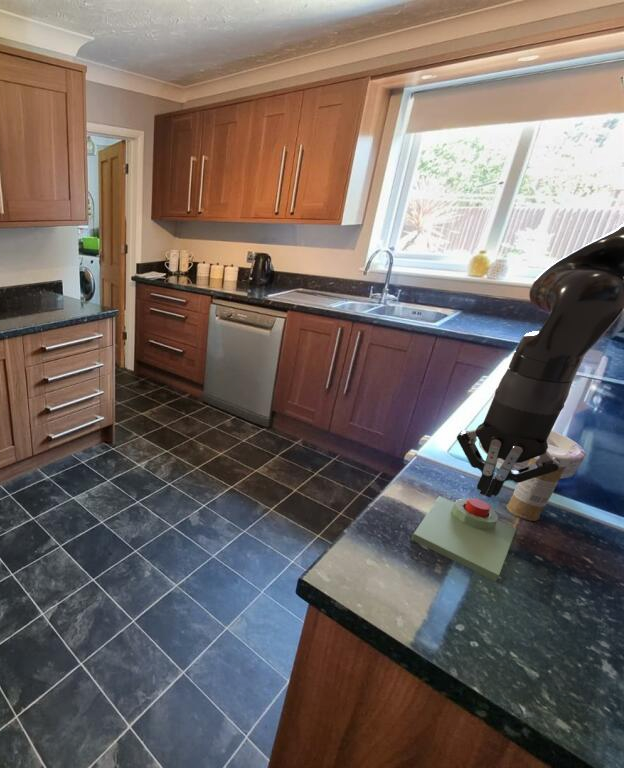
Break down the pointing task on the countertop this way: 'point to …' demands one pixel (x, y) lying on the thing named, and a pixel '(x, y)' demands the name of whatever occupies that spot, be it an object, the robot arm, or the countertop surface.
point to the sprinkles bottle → (537, 488)
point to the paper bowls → (559, 442)
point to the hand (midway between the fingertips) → (485, 493)
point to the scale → (466, 536)
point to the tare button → (477, 507)
